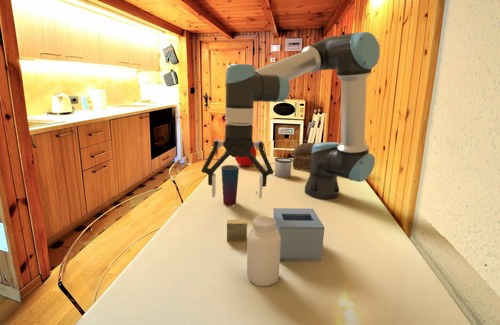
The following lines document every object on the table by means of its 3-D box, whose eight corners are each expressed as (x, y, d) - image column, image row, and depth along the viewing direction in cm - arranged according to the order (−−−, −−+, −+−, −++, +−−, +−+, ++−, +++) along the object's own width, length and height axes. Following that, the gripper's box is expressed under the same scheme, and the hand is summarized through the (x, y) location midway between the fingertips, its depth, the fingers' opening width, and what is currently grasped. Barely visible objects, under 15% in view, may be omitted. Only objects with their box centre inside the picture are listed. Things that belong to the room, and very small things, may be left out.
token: (246, 237, 88) (246, 219, 87) (246, 241, 86) (247, 223, 85) (227, 237, 88) (227, 219, 87) (226, 241, 86) (227, 223, 84)
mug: (291, 173, 156) (293, 157, 154) (291, 179, 147) (292, 162, 145) (270, 172, 158) (271, 156, 156) (268, 177, 149) (268, 160, 147)
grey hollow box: (310, 238, 89) (313, 208, 87) (321, 260, 78) (324, 227, 75) (272, 237, 89) (273, 208, 86) (277, 260, 77) (279, 226, 75)
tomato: (248, 169, 162) (248, 146, 158) (228, 165, 169) (229, 142, 165) (262, 164, 174) (263, 142, 171) (243, 160, 181) (244, 139, 178)
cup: (235, 207, 110) (236, 170, 106) (218, 205, 112) (219, 168, 108) (239, 201, 117) (240, 165, 113) (223, 199, 118) (224, 164, 114)
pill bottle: (245, 267, 74) (246, 213, 70) (275, 266, 75) (278, 213, 71) (247, 287, 66) (249, 229, 62) (281, 286, 67) (285, 228, 63)
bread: (295, 163, 179) (297, 138, 175) (348, 170, 168) (352, 143, 164) (289, 169, 166) (291, 142, 162) (347, 176, 155) (350, 148, 151)
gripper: (282, 123, 82) (277, 192, 88) (195, 120, 81) (195, 190, 86) (286, 126, 75) (281, 201, 80) (191, 123, 74) (192, 200, 79)
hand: (237, 196), depth 83 cm, fingers open, 13 cm apart
